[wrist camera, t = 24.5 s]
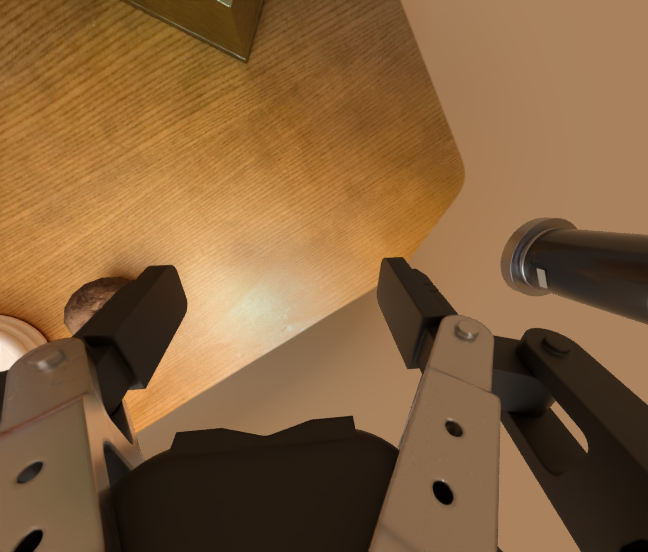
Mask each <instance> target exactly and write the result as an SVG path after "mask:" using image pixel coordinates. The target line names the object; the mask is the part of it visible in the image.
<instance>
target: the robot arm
mask: <svg viewBox="0 0 648 552" xmlns="http://www.w3.org/2000/svg"><path fill="white" fill-rule="evenodd" d="M519 273H520V276H521V279H522V280H523V282H524V283H525V284H526V285H528V286H529V287H532V288H535V289H538V290H543V291H546V292H549V293H552V294H555V295H558V296H561V297H564V298H567V299H570V300H573V301H576V302H580V303H583V304H586V305H589V306H592V307H595V308H598V309H601V310H604V311H607V312H610V313H613V314H617V315H620V316H623V317H626V318H629V319H632V320H635V321H638V322H641V323H644V324H648V235H642V234H628V233H616V232H603V231H589V230H577V229H566V228H561V227H551V228H547V229H544V230H542V231H540V232H538V233H537V234H535V235H534V236H533V237H532V238H531V239H530V240H529V241H528V242H527V244H526V245H525V247H524V249H523V251H522V253H521V256H520V259H519ZM377 300H378V304H379V306H380V308H381V311H382V313H383V315H384V317H385V320H386V322H387V324H388V326H389V329H390V331H391V333H392V336H393V338H394V340H395V342H396V345H397V347H398V349H399V351H400V353H401V356H402V358H403V360H404V363H405V365H406V367H407V369H416V368H420V370H421V372H422V377H421V379H420V382H419V385H418V388H417V392H416V394H415V397H414V401H413V404H412V407H411V410H410V413H409V416H408V419H407V422H406V425H405V428H404V431H403V434H402V436H401V440H400V442H399V445H398V448H396V447H394V446H393V445H392V444H390V443H389V442H387V441H385V440H384V439H382V438H380V437H378V436H376V435H374V434H371V433H368V432H365V431H362V430H357V429H355V425H354V420H353V416H345V417H334V418H324V419H313V420H309V421H306V422H304V423H301V424H298V425H296V426H293V427H290V428H288V429H285V430H282V431H280V432H277V433H274V434H272V435H268V436H261V435H256V434H251V433H245V432H240V431H235V430H229V429H224V428H217V429H207V430H197V431H186V432H177V433H176V435H175V438H174V441H173V443H172V446H171V448H170V449H168V450H166V451H164V452H162V453H159V454H157V455H155V456H153V457H152V458H150V459H148V460H146V461H145V460H144V458H143V455H142V453H141V450H140V447H139V444H138V440H137V437H136V434H135V430H134V427H133V423H132V420H131V416H130V413H129V409H128V406H127V403H126V401H125V400H124V398H123V397H124V396H125V394H126V392H127V391H128V390H135V389H146V387H147V385H148V383H149V381H150V379H151V378H152V376H153V374H154V372H155V370H156V368H157V366H158V365H159V363H160V361H161V359H162V357H163V355H164V353H165V352H166V350H167V348H168V346H169V344H170V342H171V340H172V339H173V337H174V335H175V333H176V331H177V329H178V327H179V325H180V324H181V322H182V320H183V318H184V316H185V314H186V312H187V298H186V295H185V292H184V290H183V287H182V284H181V281H180V278H179V275H178V272H177V270H176V268H175V267H174V266H173V265H158V266H148V267H147V268H146V269H145V270H144V271H143V272H142V273H141V274H140V275H139V276H138V277H137V279H136V280H133V281H131V282H129V283H128V284H126V285H124V286H123V287H121V288H120V289H119V290H118V291H117V292H116V293H115V294H114V295H113V296H112V297H111V298H110V300H108V301H107V302H106V303H105V304H104V305H103V306H102V308H100V309H99V310H98V311H97V312H96V313H95V314H94V315H93V316H92V317H91V318H90V319H89V320H88V321H87V322H86V323H85V324H84V325H83V326H82V327H81V328H80V329H79V330H78V331H77V332H76V333H75V334H74V335H73V336H72V337H71V338H62V339H58V340H54V341H51V342H48V343H45V344H43V345H41V346H39V347H37V348H35V349H33V350H31V351H29V352H28V353H26V354H25V355H23V356H22V357H21V358H19V359H18V360H17V361H16V362H15V363H14V364H13V365H12V366H11V367H10V369H9V370H5V371H1V372H0V552H503V551H502V550H501V549H500V548H499V547H498V546H497V545H498V502H499V455H500V420H501V422H502V424H503V425H504V427H505V428H506V430H507V432H508V433H509V435H510V437H511V438H512V440H513V441H514V443H515V445H516V446H517V448H518V450H519V451H520V453H521V455H522V456H523V457H524V459H525V461H526V463H527V464H528V466H529V468H530V469H531V471H532V472H533V474H534V476H535V477H536V479H537V480H538V482H539V484H540V485H541V487H542V489H543V490H544V492H545V494H546V495H547V497H548V499H549V500H550V502H551V503H552V505H553V507H554V508H555V510H556V511H557V513H558V515H559V516H560V518H561V520H562V521H563V523H564V524H565V526H566V528H567V529H568V531H569V533H570V534H571V536H572V538H573V539H574V541H575V543H576V544H577V546H578V547H579V549H580V551H581V552H648V405H647V404H646V403H644V402H643V401H642V400H641V399H640V398H639V397H638V396H637V395H635V394H634V393H633V392H632V391H631V390H630V389H629V388H627V387H626V386H625V385H624V384H623V383H622V382H620V381H619V380H618V379H617V378H616V377H615V376H614V375H612V374H611V373H610V372H609V371H608V370H607V369H606V368H604V367H603V366H602V365H601V364H600V363H599V362H597V361H596V360H595V359H594V358H593V357H592V356H591V355H589V354H588V353H587V352H586V351H584V350H583V349H582V348H581V347H580V346H579V345H578V344H577V343H575V342H574V341H572V340H571V339H569V338H567V337H565V336H563V335H561V334H559V333H556V332H553V331H551V330H547V329H541V328H532V329H529V330H527V331H526V332H525V333H524V335H523V336H522V338H521V340H515V339H510V338H504V337H499V336H494V335H492V333H491V331H490V330H489V329H488V328H487V327H486V326H485V325H483V324H482V323H480V322H478V321H477V320H474V319H472V318H470V317H466V316H462V315H458V314H457V312H456V311H455V310H454V309H453V307H452V306H451V305H450V304H449V303H448V301H447V300H446V299H445V298H444V297H443V295H442V294H441V293H440V292H439V291H438V289H437V288H436V287H435V286H434V285H433V283H432V282H431V281H430V279H429V278H428V277H427V276H426V275H425V274H423V273H422V272H420V271H419V270H417V269H412V268H411V267H410V266H409V264H408V263H407V262H406V261H405V259H404V258H403V257H394V258H383V260H382V262H381V268H380V274H379V281H378V287H377ZM555 401H557V402H558V403H559V405H560V406H561V407H562V408H563V409H564V410H565V411H566V413H567V414H568V415H569V416H570V418H571V419H572V420H573V421H574V422H575V423H576V425H577V426H578V427H579V428H580V429H581V431H582V432H583V433H584V435H585V437H586V439H587V442H588V453H586V452H585V450H584V449H583V448H582V446H581V445H580V444H579V443H578V442H577V440H576V439H575V438H574V437H573V436H572V434H571V433H570V432H569V430H568V429H567V428H566V427H565V426H564V424H563V423H562V422H561V421H560V419H559V418H558V417H557V416H556V414H555V413H554V412H553V411H552V410H551V408H550V407H551V406H552V404H553V403H554V402H555Z"/></svg>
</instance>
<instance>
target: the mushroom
mask: <svg viewBox="0 0 648 552" xmlns="http://www.w3.org/2000/svg"><path fill="white" fill-rule="evenodd" d="M129 282H131V281H129V280H126V279H123V278H121V277H114V278H100V279H97V280H95V281H92V282H89V283H87V284H85V285H83V286H82V287H81V288H80V289H79V290H77V291H76V292H75V293H74V294H72V296H71V298H70V299H69V301H68V303H67V304H66V306H65V309H64V323H65V325H66V326H67V328H68V329H69V331H70V333H71V334H72V335H74V334H75V333H76V332H77V331H78V330H79V329H80V328H81V327H82V326H83V325H84V324H85V323H86V322H87V321H88V320H89V319H90V318H91V317H92V316H93V315H94V314H95V313H96V312H97V311H98V310H99V309H100V308H102V306H103V305H104V304H105V303H106V302H107V301H108V300H110V298H111V297H112V296H113V295H114V294H115V293H116V292H117V291H118V290H119V289H120V288H121V287H123V286H124V285H126V284H128V283H129Z"/></svg>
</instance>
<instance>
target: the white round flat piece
mask: <svg viewBox="0 0 648 552" xmlns="http://www.w3.org/2000/svg"><path fill="white" fill-rule="evenodd" d="M45 343H48V342H47V341H46V339H45V338H44V337H43V335H42V334H41V333H40V332H39V331H38V330H36V329H35V328H34V327H32V326H31V325H29V324H28V323H26V322H24V321H21V320H19V319H16V318H13V317H9V316H4V315H0V372H1V371H5V370H9V369H10V367H11V366H12V365H13V364H14V363H15V362H16V361H17V360H18V359H19V358H21V357H22V356H23V355H25V354H26V353H28V352H29V351H31V350H33V349H35V348H37V347H39V346H41V345H43V344H45Z"/></svg>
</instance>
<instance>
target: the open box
mask: <svg viewBox="0 0 648 552" xmlns="http://www.w3.org/2000/svg"><path fill="white" fill-rule="evenodd" d="M121 1H123V2H125V3H127V4H129V5H131V6H133V7H135V8H137V9H139V10H141V11H143V12H145V13H147V14H149V15H151V16H153V17H155V18H157V19H159V20H161V21H163V22H165V23H167V24H169V25H171V26H173V27H175V28H177V29H179V30H181V31H183V32H185V33H187V34H189V35H191V36H193V37H195V38H197V39H199V40H201V41H203V42H205V43H207V44H209V45H211V46H212V47H214V48H216V49H218V50H220V51H222V52H224V53H226V54H228V55H230V56H232V57H234V58H236V59H238V60H240V61H242V62H244V63H246V64H247V61H248V57H249V53H250V50H251V46H252V43H253V39H254V35H255V32H256V28H257V25H258V21H259V17H260V14H261V10H262V7H263V3H264V0H121Z"/></svg>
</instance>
